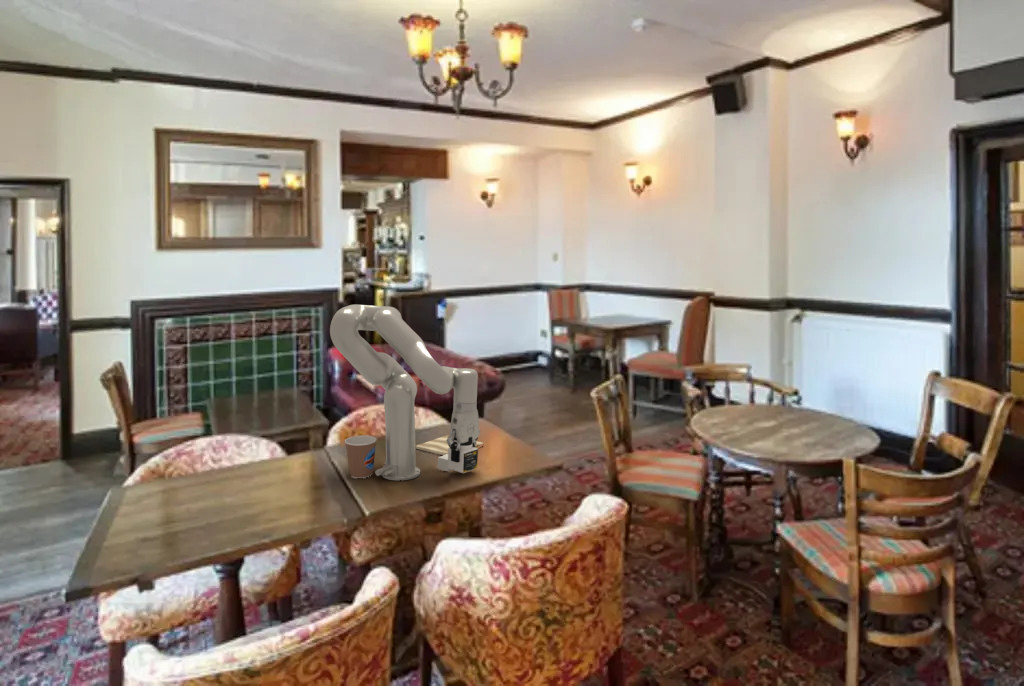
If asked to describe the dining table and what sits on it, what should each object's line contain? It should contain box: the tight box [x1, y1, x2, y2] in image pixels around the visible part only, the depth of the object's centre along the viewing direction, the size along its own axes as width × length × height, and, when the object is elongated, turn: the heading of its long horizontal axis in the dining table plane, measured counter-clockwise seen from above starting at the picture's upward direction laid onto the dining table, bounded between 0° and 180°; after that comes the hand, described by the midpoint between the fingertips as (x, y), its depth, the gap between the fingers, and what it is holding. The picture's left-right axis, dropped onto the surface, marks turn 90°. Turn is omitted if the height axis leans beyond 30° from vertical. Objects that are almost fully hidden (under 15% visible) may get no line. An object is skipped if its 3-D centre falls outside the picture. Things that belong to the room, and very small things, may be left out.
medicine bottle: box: [448, 437, 479, 474], centre depth 211 cm, size 7×7×12 cm
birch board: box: [415, 434, 485, 455], centre depth 240 cm, size 18×18×2 cm
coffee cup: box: [344, 435, 378, 479], centre depth 209 cm, size 10×10×12 cm
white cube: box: [437, 454, 452, 472], centre depth 216 cm, size 4×4×4 cm
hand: (462, 458), depth 211 cm, fingers closed on medicine bottle, 7 cm apart
